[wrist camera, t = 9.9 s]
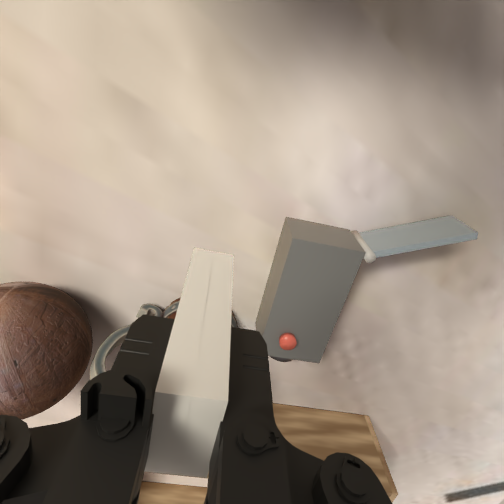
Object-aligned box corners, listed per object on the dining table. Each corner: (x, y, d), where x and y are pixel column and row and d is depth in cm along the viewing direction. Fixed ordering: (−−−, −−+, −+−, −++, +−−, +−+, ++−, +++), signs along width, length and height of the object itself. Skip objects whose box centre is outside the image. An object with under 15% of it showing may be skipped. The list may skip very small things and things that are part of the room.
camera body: (285, 216, 40) (293, 241, 34) (350, 230, 41) (369, 256, 35) (253, 329, 48) (255, 365, 42) (309, 338, 49) (318, 375, 43)
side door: (349, 240, 42) (365, 264, 37) (348, 231, 41) (364, 254, 36) (448, 221, 41) (479, 242, 36) (449, 212, 41) (481, 232, 35)
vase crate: (125, 383, 52) (95, 463, 41) (368, 415, 57) (398, 494, 46) (117, 481, 63) (91, 563, 52) (321, 501, 68) (336, 579, 57)
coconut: (73, 244, 41) (-7, 324, 28) (129, 336, 48) (86, 436, 35) (-35, 277, 43) (-160, 367, 30) (34, 361, 50) (-43, 467, 36)
